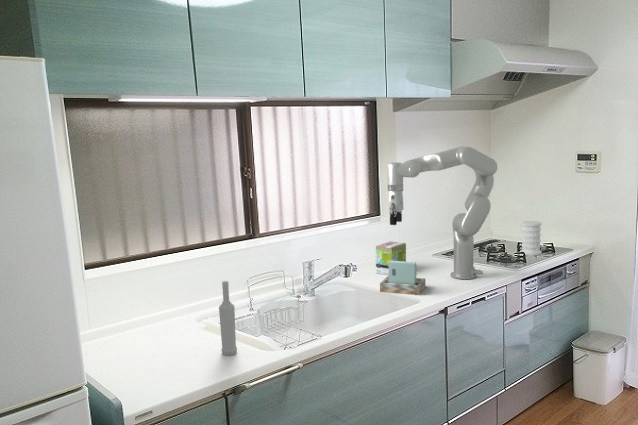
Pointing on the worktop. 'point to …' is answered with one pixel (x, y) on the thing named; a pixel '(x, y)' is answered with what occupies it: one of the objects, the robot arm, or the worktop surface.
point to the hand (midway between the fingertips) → (395, 223)
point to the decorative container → (531, 237)
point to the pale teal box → (402, 272)
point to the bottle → (227, 323)
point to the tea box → (389, 255)
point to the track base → (403, 287)
